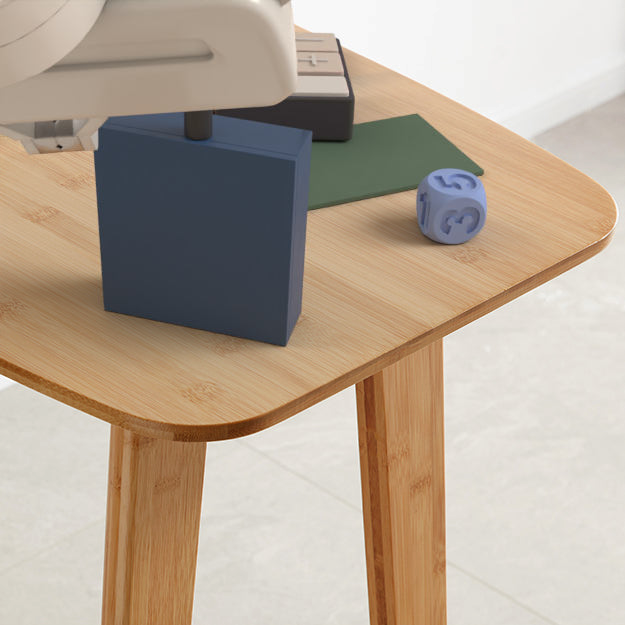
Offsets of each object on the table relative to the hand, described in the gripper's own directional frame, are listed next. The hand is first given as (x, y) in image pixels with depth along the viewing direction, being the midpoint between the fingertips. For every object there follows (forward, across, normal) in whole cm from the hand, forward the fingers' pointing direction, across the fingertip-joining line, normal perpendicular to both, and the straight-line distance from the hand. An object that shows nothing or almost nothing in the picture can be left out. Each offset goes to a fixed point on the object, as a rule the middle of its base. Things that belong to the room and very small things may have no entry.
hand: (64, 137), depth 48 cm
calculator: (+44, -8, -24) cm, 50 cm away
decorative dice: (+34, -20, -7) cm, 40 cm away
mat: (+38, -11, -14) cm, 42 cm away
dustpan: (+26, -3, 0) cm, 26 cm away
